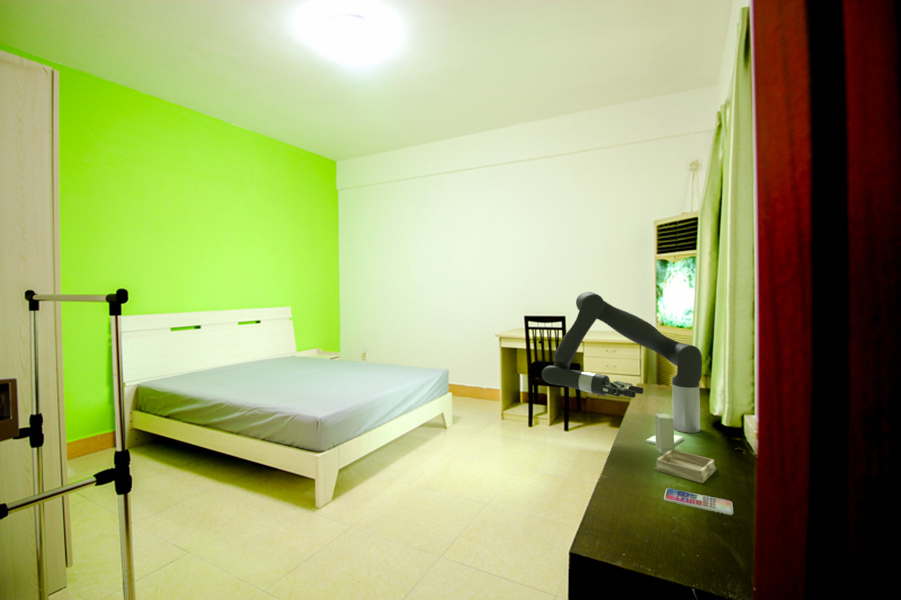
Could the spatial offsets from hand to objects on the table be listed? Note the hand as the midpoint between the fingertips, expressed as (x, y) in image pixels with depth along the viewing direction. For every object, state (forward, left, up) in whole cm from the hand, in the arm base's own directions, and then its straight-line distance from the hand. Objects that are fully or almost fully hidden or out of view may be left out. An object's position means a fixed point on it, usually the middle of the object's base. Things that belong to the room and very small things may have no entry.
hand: (639, 392), depth 147 cm
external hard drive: (-11, +4, -19) cm, 23 cm away
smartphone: (+30, +27, -19) cm, 45 cm away
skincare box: (0, +8, -19) cm, 20 cm away
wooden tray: (+11, +18, -19) cm, 28 cm away
